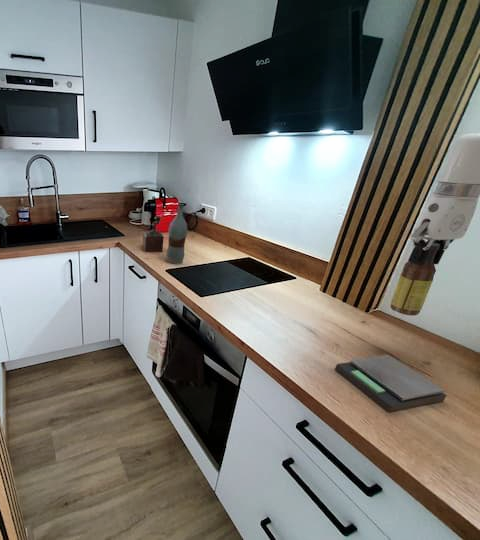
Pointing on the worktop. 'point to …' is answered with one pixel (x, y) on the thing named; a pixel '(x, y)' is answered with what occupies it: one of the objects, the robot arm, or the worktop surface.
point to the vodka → (177, 238)
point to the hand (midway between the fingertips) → (422, 262)
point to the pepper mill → (153, 239)
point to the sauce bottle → (414, 285)
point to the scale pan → (396, 377)
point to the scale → (382, 390)
